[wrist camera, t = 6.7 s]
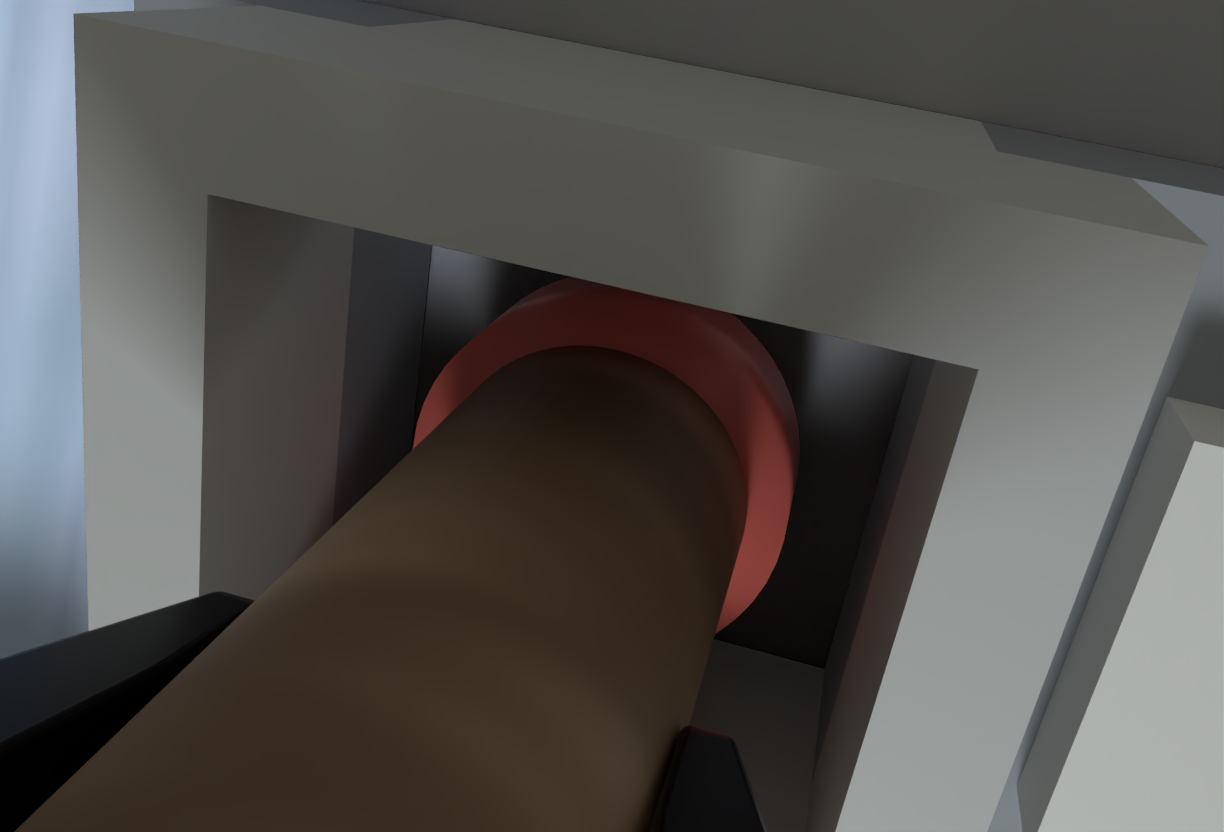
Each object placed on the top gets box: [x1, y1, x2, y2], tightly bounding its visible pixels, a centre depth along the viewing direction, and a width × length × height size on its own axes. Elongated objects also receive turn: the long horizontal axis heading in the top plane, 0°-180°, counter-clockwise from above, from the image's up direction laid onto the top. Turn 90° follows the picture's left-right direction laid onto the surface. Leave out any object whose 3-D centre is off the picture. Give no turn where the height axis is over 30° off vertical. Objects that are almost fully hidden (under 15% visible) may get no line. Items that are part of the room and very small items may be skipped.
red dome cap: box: [413, 277, 800, 634], centre depth 14 cm, size 4×4×2 cm
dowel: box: [14, 345, 747, 832], centre depth 8 cm, size 4×4×10 cm
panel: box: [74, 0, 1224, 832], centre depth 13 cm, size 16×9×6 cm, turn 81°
